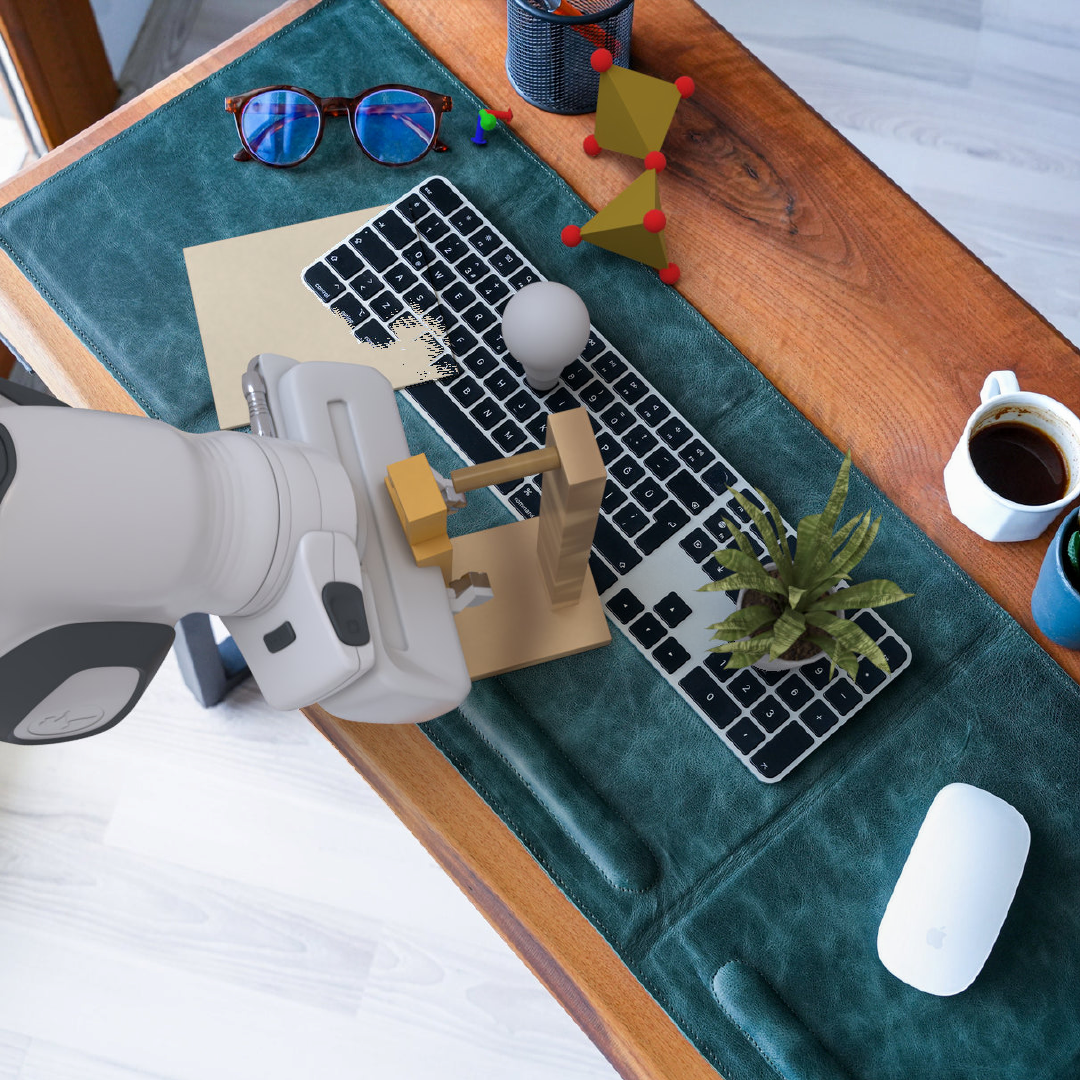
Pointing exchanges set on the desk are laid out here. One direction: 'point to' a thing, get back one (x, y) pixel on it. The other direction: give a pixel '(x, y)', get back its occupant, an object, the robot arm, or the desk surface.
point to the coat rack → (536, 557)
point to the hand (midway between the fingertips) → (470, 544)
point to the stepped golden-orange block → (421, 513)
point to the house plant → (800, 591)
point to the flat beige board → (288, 311)
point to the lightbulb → (545, 330)
